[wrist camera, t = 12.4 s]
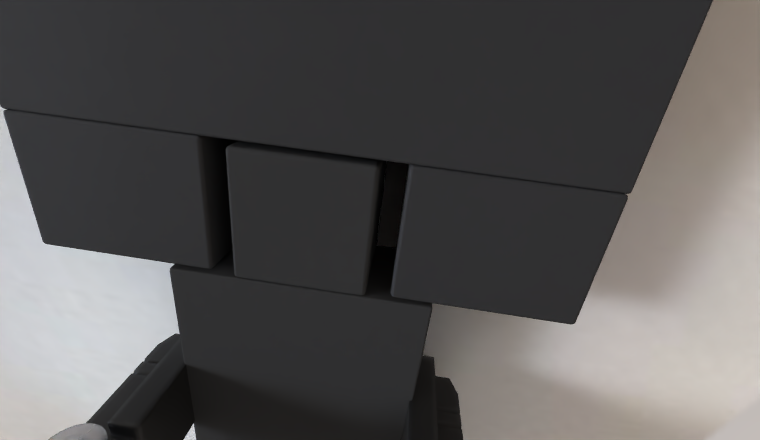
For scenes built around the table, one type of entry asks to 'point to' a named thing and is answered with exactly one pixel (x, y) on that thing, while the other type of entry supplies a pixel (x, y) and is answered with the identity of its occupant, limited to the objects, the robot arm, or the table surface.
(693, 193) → the table surface
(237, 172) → the small pad
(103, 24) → the large pad
